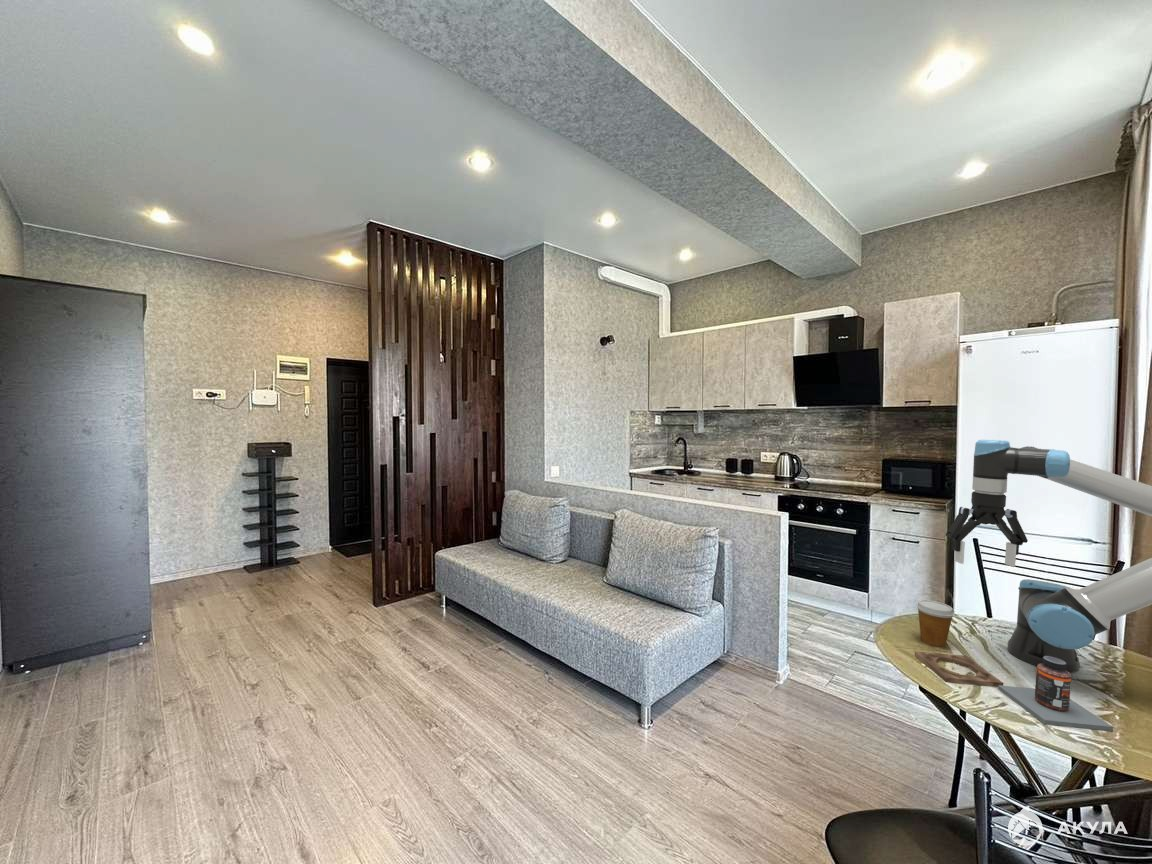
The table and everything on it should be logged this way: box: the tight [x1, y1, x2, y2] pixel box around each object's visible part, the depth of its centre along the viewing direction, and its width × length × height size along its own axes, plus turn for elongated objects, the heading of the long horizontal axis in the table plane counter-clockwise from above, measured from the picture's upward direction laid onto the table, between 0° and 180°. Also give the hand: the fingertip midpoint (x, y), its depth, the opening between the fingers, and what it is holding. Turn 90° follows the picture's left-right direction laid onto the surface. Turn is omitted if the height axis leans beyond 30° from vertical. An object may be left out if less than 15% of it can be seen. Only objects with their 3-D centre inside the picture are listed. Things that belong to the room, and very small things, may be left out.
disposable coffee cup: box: [915, 599, 955, 648], centre depth 146 cm, size 10×10×12 cm
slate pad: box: [997, 685, 1114, 732], centre depth 113 cm, size 14×14×1 cm
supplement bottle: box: [1034, 656, 1072, 711], centre depth 113 cm, size 6×6×11 cm
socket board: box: [914, 651, 1004, 688], centre depth 130 cm, size 14×14×1 cm
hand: (984, 564), depth 135 cm, fingers open, 13 cm apart
